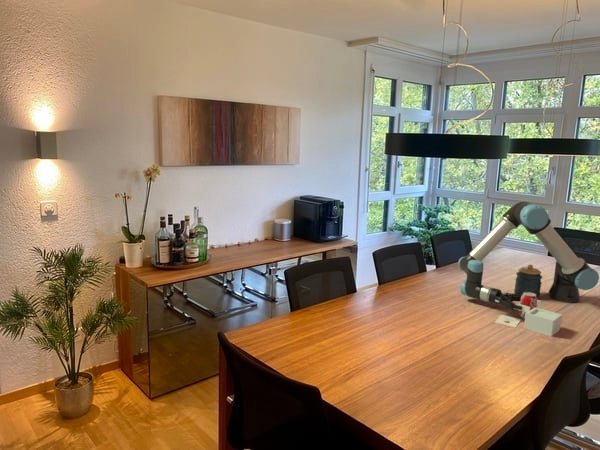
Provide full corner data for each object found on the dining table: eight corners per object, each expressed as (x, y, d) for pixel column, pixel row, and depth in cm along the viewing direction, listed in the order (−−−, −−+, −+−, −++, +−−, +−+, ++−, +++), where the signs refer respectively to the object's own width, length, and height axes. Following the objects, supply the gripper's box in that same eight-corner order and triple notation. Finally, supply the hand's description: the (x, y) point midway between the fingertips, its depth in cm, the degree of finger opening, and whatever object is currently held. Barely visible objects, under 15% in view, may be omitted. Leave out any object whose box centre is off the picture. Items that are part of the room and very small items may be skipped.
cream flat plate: (500, 315, 223) (501, 314, 223) (520, 319, 218) (521, 319, 218) (494, 322, 214) (494, 321, 214) (515, 327, 209) (515, 326, 209)
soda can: (525, 321, 217) (528, 296, 215) (515, 315, 224) (518, 291, 222) (538, 319, 219) (541, 295, 217) (527, 314, 226) (530, 291, 223)
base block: (533, 321, 216) (535, 307, 215) (560, 329, 208) (562, 314, 207) (523, 328, 208) (525, 313, 207) (551, 336, 200) (553, 320, 199)
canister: (515, 297, 250) (518, 266, 247) (512, 290, 263) (516, 260, 259) (541, 300, 246) (545, 269, 243) (537, 293, 258) (541, 263, 255)
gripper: (500, 296, 242) (543, 308, 227) (479, 307, 225) (524, 320, 210) (502, 283, 241) (545, 293, 226) (480, 293, 224) (526, 305, 209)
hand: (535, 306), depth 218 cm, fingers open, 13 cm apart
